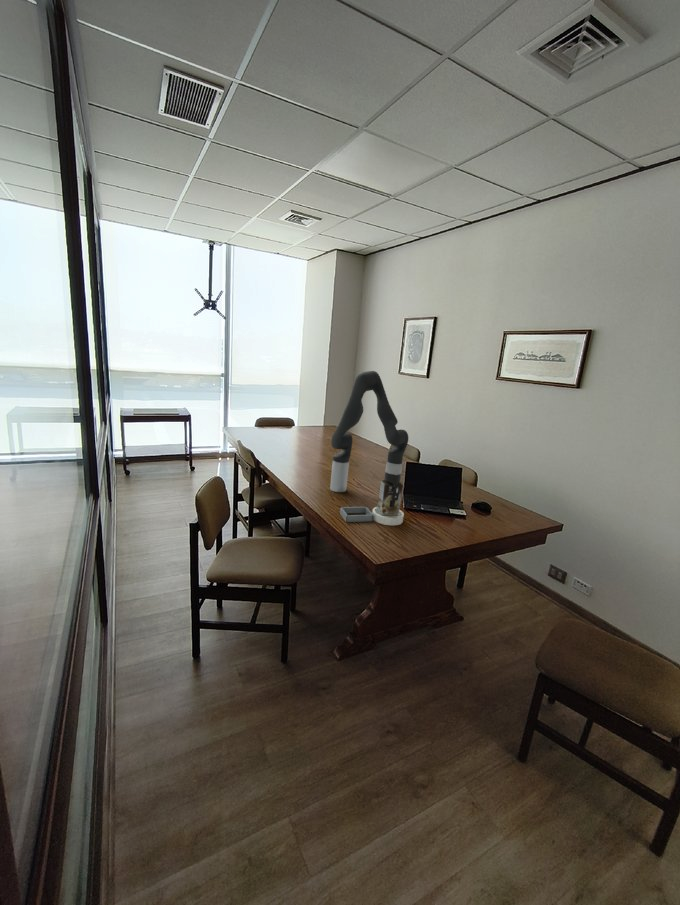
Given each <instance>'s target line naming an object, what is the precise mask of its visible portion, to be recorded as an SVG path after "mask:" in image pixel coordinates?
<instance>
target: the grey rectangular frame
mask: <svg viewBox="0 0 680 905" xmlns="http://www.w3.org/2000/svg"><path fill="white" fill-rule="evenodd" d="M339 508H340V509H339V514H340V516H341V517H342V518H343V520H344V521H345V523H353V522H354V523H356V522H357V523H358V522H362V523H363V522H374V520H373V518H374V515H373V514H372V510H370V509H369V507H367V506H340V507H339ZM350 514H351V515H350Z"/></svg>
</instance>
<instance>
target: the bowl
mask: <svg viewBox="0 0 680 905" xmlns="http://www.w3.org/2000/svg"><path fill="white" fill-rule="evenodd" d="M377 507H378V506H375V507H373V508H372V510H371V513H372V514H373V515H374V518H373V522H376V523H378V524H381V525H385V526H399V525H401V524H403V522H404V517H405V513H404V511H402V510H400V509H399V514H398V516H381V515H380V514H379V513H378V512H377Z"/></svg>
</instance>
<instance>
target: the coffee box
mask: <svg viewBox="0 0 680 905" xmlns="http://www.w3.org/2000/svg"><path fill="white" fill-rule="evenodd" d="M403 486H404V484H403V483H401V481H400V482H399V483H397V488H399V489H400V491H399V497H398V500H395V506H394V508H391V507H390V500H391V498H390V497H391V495H390V492H391V493H393V491H392V484H391V483H389V482H387V481H385V480H384V479H383V480H381V481H380V487H379V494H378V501H377V502H378V503H377V506H376V507H377V512H378V513H379V514H380V515H381V516H398V514H399V510H400V507H401V499H402V494H403ZM392 497H393V495H392Z"/></svg>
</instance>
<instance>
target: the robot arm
mask: <svg viewBox="0 0 680 905" xmlns="http://www.w3.org/2000/svg"><path fill="white" fill-rule="evenodd" d="M370 391H371V392H372V391H373V392H374V394H375V397H376V401H377V402H376V412H377V415H378V418H379V421H380V422H381V424H382V426H383V429H384V431H383V432H384V435H385V438H386V441H387V442H388V444H390V445H391V446H392V448H391V449H389V450H388V452H387V461H386V463H385V464H386V465H385V471H384V479H383V480H385V481H387V482H389V483H391V484H392V491H393V493H391V492H390V495H391V497H390V498H391V500H390V507H391V508H394V506H395V500H398V497H399V491H400V489H399V488H397V483H399V482H400V483H401V477H402V470H403V457H404V454H405V452H406V449H407V446H408V443H409V433H408V432H407V431H406V430H405V429H397V427H396V426H397V425H398V418H397V416H396V414H395V413H394V410H393V409H392V406H391V405H390V402H389V400H388V397H387V393H386V391H385V387H384V384H383V381H382V379H381V376H380V375H379V373H378V372H377V371H375V370H368V371H361V372H359V373H358V374H357V376H356V377H355V379H354V384H353V387H352V390H351V394H350V396H349V399H348V402H347V403H346V406H345V408H344V411H343V414H342V416H341V418H340V421H339V424H338V425H337V426H336V429H335V430H334V431H333V433H332V436H331V441H330V442H331V443H330V444H331V447H332V448H333V449H335V450H341V451H339V452H338V453H334V455H333V456H332V464H331V474H330V486H329V489H330V491H332V492H335V493H344V492H346V491H347V485H348V475H349V467H350V466H349V465H350V458H351V456H352V455H351V454H352V447H353V435H352V434H351V433H350V432H348V431H349V430H351V429H352V428H354V427H355V426H356V425H357V424H358V423H359V422H360V420H361V418H362V416H363V414H364V406H363V402H362V401H363V397H364V395H365V393H366V392H370ZM392 495H393V497H392Z"/></svg>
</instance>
